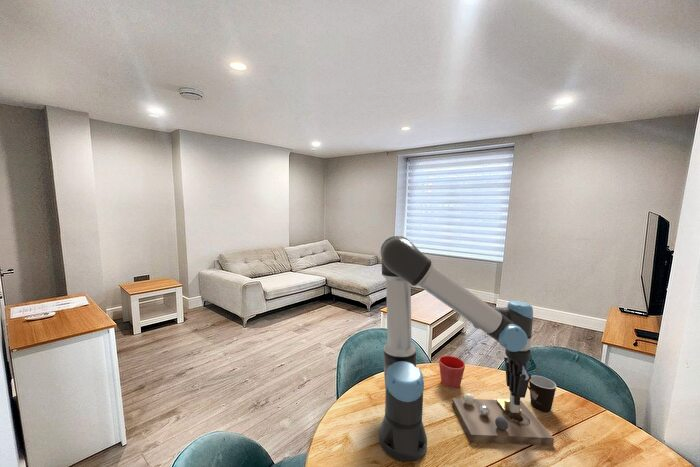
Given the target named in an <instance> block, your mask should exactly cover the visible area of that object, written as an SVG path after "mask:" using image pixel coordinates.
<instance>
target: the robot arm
mask: <svg viewBox="0 0 700 467" xmlns="http://www.w3.org/2000/svg"><path fill="white" fill-rule="evenodd" d="M380 258H381V260H380V261H381V275H382V276H383V277H384V279H385V282H386V284H385V285H386V288H385V289H386V291H385V292H386V330H387V332H386V335H387V336H386V337H387V339H386V340H387V342H386V344H384V346H383V358H382V359H383V360H382V367H383V373H384V388H385V391H384V392H385V395H384V396H385V399H384V400H385V401H384V402H385V404H384V416H383V420H382V422H381V424H380V426H379V430H378V443H379V446H380V448H381V449H382V451H383V452H384V453H385V454H387V456H389V457H391V458H393V459H394V460H397V461H401V462H408V463H409V462H416V461H418V460H420V459H422V457H424V456H425V454H426V452H427V449H428V437H427V432H426V430H425V426H424V422H423V409H424V408H423V406H424V389H425V380H424V374H423V373H422V371H421V369H420V368H419V367H418V366H417V349H416V347H415V345H414V344H413V343H412V298H411V296H412V294H411V291H412V290H411V286H413V287H418V286H419V287H420V288H422V289H423V290H425V292H428V293H429V294H430V295H432V296H433V297H434V298H436V299H437V300H438V301H440V302H441V303H443V304H444V305H446V306H447V307H449V308H450V309H452V311H454V312H456V313H457V314H458V315H460V316H461V317H463V318H464V319H466V320H467V321H469V323H471V325H472V326H473V327H474V328H475V329H477V330H482V332H484V333H486V335H488V336H489V337H491V338H492V339H493V340H495V341H496V342H498V343H499V345H500V346H501V347H503V348H504V349H505V351H504V352H505V354H504V355H505V356H504V358H503V359H504V365H505V377H506V378H505V379H506V380H505V382H506V387H508V390H509V392H510V393H509V399H510V406H509V410H510V411H511V412H512V413H519V409H520V401H521V398H523V399H524V398H526V395H527V391H528V386H529V381H530V379H531V376H532V375H531V374H528V372H527V370H528V369H527V368H528V367H527V363H528V362H530V361H531V353H532V352H531V347H532V340H533V339H532V334H533V332H532V331H533V323H534V310H533V308H534V307H533V306H532V304H529V303H527V302H525V301H519V300H510V301H509V302H508V303H507V307H497V306H491V305H489V304H488V303H486V302H485V301H483V300H482V299H481V298H479V297H478V296H477V295H476V294H474V293H472V292H471V291H469V290H468V289H467V288H465V287H464V286H462V285H461V284H460V283H458V282H457V281H456V280H454V279H453V278H452V277H450V276H448V275H447V274H446V273H444V272H443V271H441V270H440V269H438V268H437V267H435V266H434V264H433V260H432V259H431V258H429V257H427V256H426V255H424V253H423V252H421V251H420V249H418V248H417V247H416V246H415V244H414V243H413V242H412V241H410V239H409V238H406V237H404V236H403V235H396V236H395V235H393V236H390V237H388V238H387V239H385V240H384V242H383V243H382V244H381V247H380Z"/></svg>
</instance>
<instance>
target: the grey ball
mask: <svg viewBox="0 0 700 467" xmlns="http://www.w3.org/2000/svg"><path fill="white" fill-rule="evenodd" d="M495 424H496V426H497V428H499V429H500V430H506V429H507V428H508V422H507V420H506V419H505V418H503V417H497V418H496V420H495Z"/></svg>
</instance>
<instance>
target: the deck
mask: <svg viewBox="0 0 700 467" xmlns="http://www.w3.org/2000/svg"><path fill="white" fill-rule="evenodd" d="M451 400H452V403H451V405H452V407H453V409H454V412H455V413H456V415H457V417H458V419H459V421H460V423H461V425H462V427H463V430H464V431H465V433H466V435H467V438H468V439H469V441H470V443H487V444H507V445H508V444H509V445H534V446H554V444H555V443H554V442H555V441H554V440H555V438H554V437H553V435H552V434H551V433H550V432H549V430H548V429H547V428H546V427H545V426H544V424H542V422H540V420H539V419H538V418H537V417H536V415H535V414H534V413H533V412H532V411H531V410H530V409H529V408H528V406H527V405H526V404H525V403H524V402H523V401H522V400H520V402H521V403H520V409H521V413H520V412H519V413H512V412H504V411H503V409H502V408H501V407H500V405H499V404H498V403H497V401H496V399H486V398H485V399H481V398H474V400H475V401H474V403H473V404H472V405H468V404H466V403H465V402H464V398H461V397H458V398H456V397H454V398H451ZM482 405H484V406H486V407H488V409H489V411H490V414H489V416H487V417H484V416H482V415H481V414H480V412H479V407H480V406H482ZM497 417H503V418H505V419H506V420H507V422H508V428H507V429H506V430H500V429H499V428H497V426H496V424H495V420H496V418H497Z"/></svg>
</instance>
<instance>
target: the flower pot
mask: <svg viewBox="0 0 700 467" xmlns="http://www.w3.org/2000/svg"><path fill="white" fill-rule="evenodd" d="M438 364H439V365H438V366H439V373H440V374H439V375H440V381H441V384H442V385H443V386H444V387H447V388H449V389H458V388H460V386H461V384H462V380H463V376H464V372H465V367H466V364H465V362H464V361H463V359H461V358H458V357H457V356H453V355H452V356H451V355H443V356H440V357H439V358H438Z"/></svg>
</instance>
